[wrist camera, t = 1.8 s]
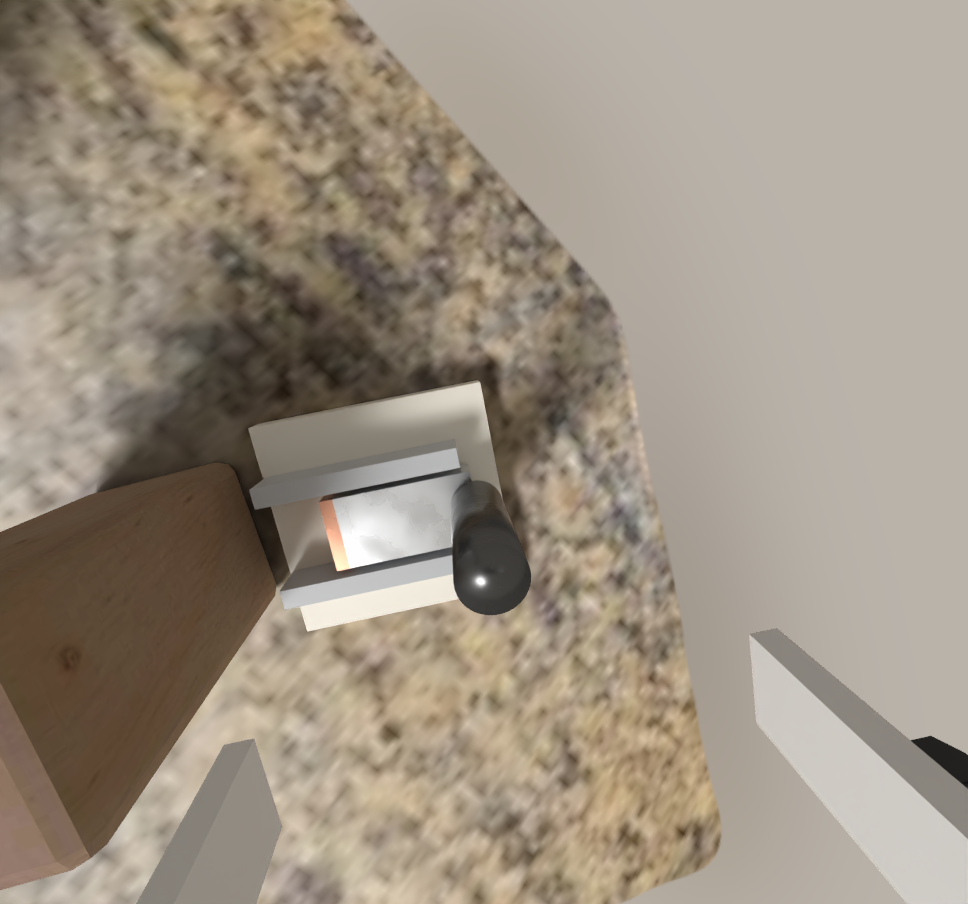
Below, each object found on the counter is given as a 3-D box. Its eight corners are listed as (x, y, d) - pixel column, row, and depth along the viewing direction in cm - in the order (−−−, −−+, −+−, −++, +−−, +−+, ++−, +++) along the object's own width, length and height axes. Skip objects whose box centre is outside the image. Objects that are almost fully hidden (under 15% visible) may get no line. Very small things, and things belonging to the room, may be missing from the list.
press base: (259, 423, 34) (228, 436, 29) (477, 379, 34) (483, 385, 29) (314, 616, 37) (294, 657, 32) (515, 573, 37) (526, 607, 32)
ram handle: (327, 491, 33) (259, 576, 21) (492, 457, 33) (521, 521, 21) (344, 555, 34) (288, 673, 21) (504, 521, 34) (539, 618, 22)
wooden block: (235, 455, 34) (-43, 600, 15) (285, 591, 36) (100, 877, 17) (85, 494, 34) (-404, 695, 14) (144, 628, 36) (-213, 964, 16)
